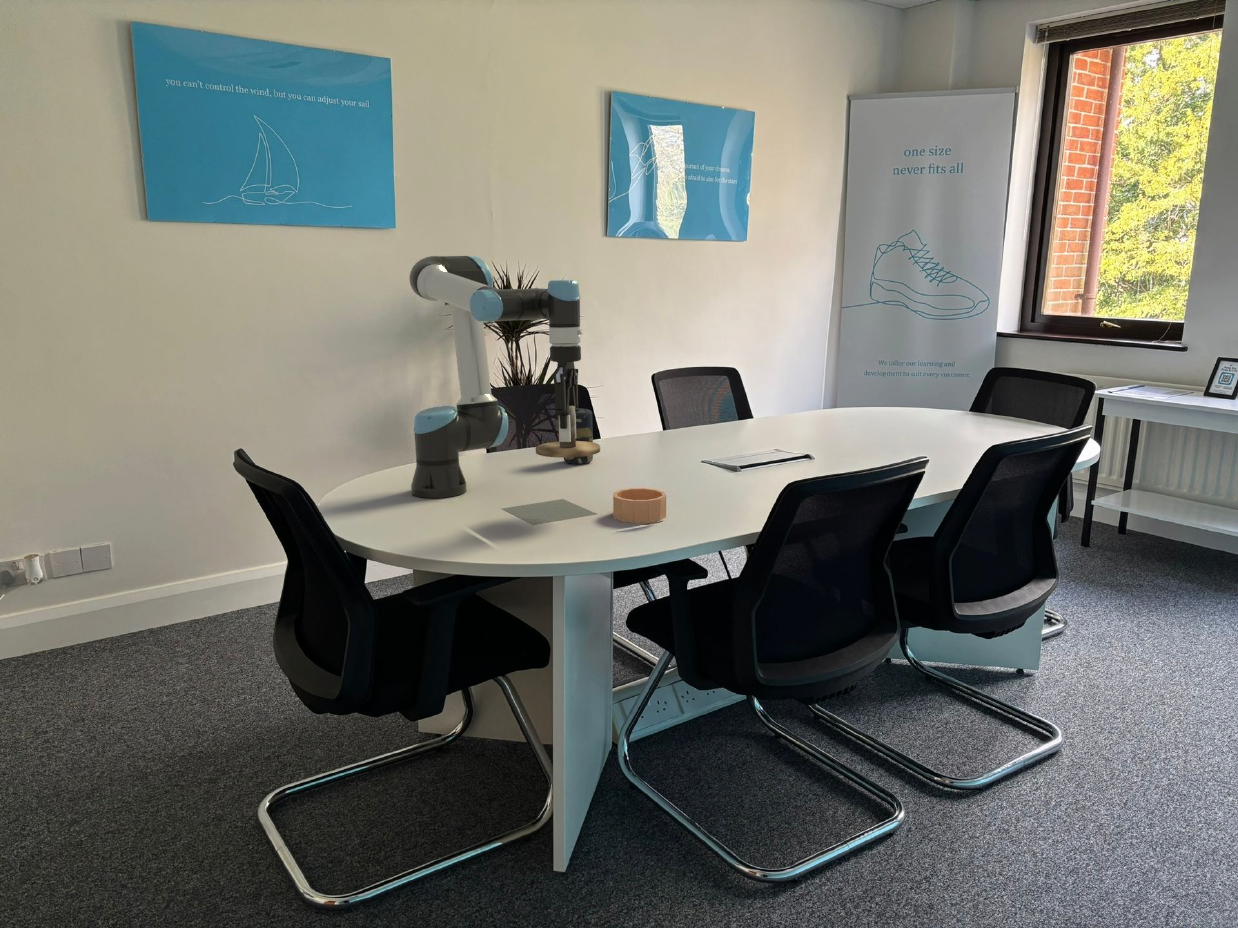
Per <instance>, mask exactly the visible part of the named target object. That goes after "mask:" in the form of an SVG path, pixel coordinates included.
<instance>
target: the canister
mask: <svg viewBox="0 0 1238 928" xmlns="http://www.w3.org/2000/svg"><path fill="white" fill-rule="evenodd" d="M576 409H579V412H576V441H585V442H593V443H594V434H593V433H594V432H593V412H592V410H590V409H588V408H579V407H578V408H576ZM593 460H594V455H589V456H582V457H568V458H563V461H564V462H566V463H568V464H573V465H574V464H577V465H578V464H579V465H581V464H587V463H591V462H592V461H593Z"/></svg>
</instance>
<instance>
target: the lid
mask: <svg viewBox="0 0 1238 928" xmlns="http://www.w3.org/2000/svg"><path fill="white" fill-rule="evenodd" d="M568 415H570V431H571V442H559V441H552V442H545V443H541V444H538V445H536V446H535V453H536V455H538V456H542V457H546V458H558V459H559V458H563V459H564V458H568V457H582V456H589V455H593V456H594V455H597V454H599V453H600V452H601V444H599V443H596V442H594V441H593V442H585V441H576V428H575V406H569V414H568Z"/></svg>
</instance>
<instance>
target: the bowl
mask: <svg viewBox="0 0 1238 928" xmlns="http://www.w3.org/2000/svg"><path fill="white" fill-rule="evenodd" d="M612 506H613V507H612V515H613V519H615V520H618V521H620V522H625V523H630V524H631V523H632V524H642V526H650V525H655V524H656V525H657V524H660V523H662V522H663V520H664V519H666V518H667V493H666V492H665V491H663V490H659V489H655V488H649V487H648V488H647V487H632V488H631V487H630V488H625V489H619V490H617V491H614V492H613V493H612Z"/></svg>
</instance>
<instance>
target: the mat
mask: <svg viewBox="0 0 1238 928" xmlns="http://www.w3.org/2000/svg"><path fill="white" fill-rule="evenodd" d="M501 510H502V511H505V512H507V513H509V514H511V515H512V516H515V517H517V518H518V519H520V520H522V521H524V522H526V523H528V524H530V525H532V526H536V525H541V524H547V523H552V522H559V521H565V520H571V519H578V518H582V517H589V516H595V515H598V513H597V512H593V511H592V510H590V509H587V508H585V507H583V506H581V505H577V503H576V504H575V503H573V502H571V501H569V500H566V499H565V498H561V499H555V500H549V501H541V502H536V503H535V502H534V503H529V504H522V505H516V506H515V505H514V506H510V507H509V506H508V507H504V508H501Z"/></svg>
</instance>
